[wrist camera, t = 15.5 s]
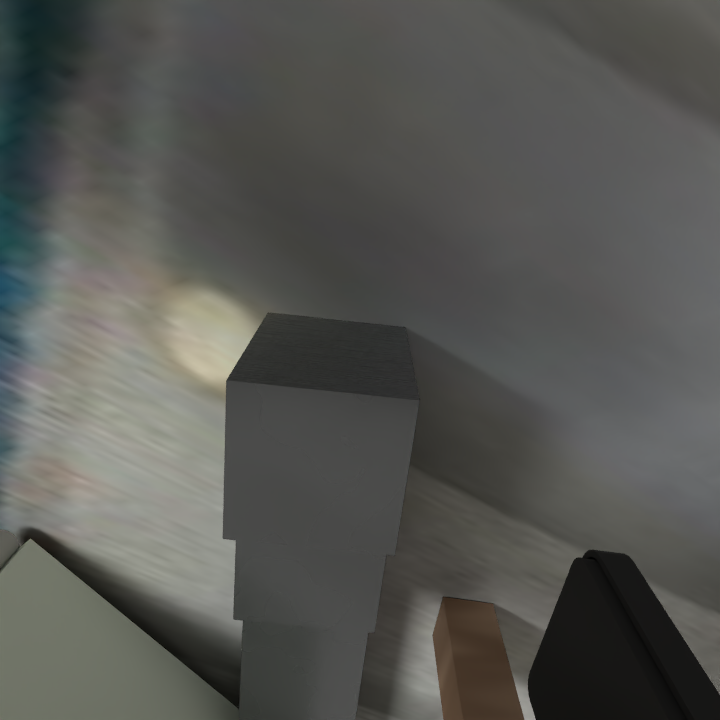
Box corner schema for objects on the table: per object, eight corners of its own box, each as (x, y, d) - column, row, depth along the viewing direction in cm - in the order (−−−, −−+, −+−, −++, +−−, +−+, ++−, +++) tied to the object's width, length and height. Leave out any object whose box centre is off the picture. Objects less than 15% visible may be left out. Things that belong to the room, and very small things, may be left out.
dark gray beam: (267, 312, 16) (226, 380, 11) (405, 327, 16) (419, 400, 12) (248, 704, 22) (215, 855, 17) (350, 713, 22) (344, 867, 17)
